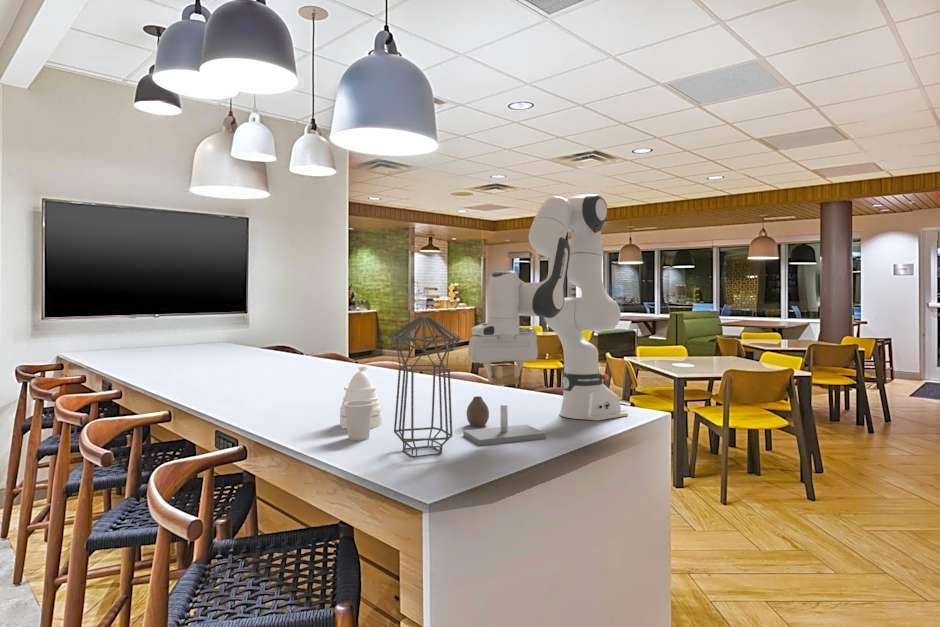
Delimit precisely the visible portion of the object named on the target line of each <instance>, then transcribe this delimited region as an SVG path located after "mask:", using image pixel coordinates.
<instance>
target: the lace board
mask: <svg viewBox="0 0 940 627" xmlns="http://www.w3.org/2000/svg"><path fill="white" fill-rule="evenodd" d="M508 408H509V406H508V404H500V410H499V411H500V426H495V427H494V426H493V427H487V428H477V429H464V430H463V433H462V434H463V436H464V437H465V438H467V439H468V440H470V441H471V442H473V443H475V444H476V445H478V446H486V445H498V444H506V443H515V442H525V441H534V440H544V439H546V438H547V434H546V433H547V432H545V431H543V430H541V429H540V430H539V429H538V428H535V427H532V426H530V425H528V424H526V423H525V424H517V425H516V424H514V425H509V424H508V420H509V419H508V414H509V413H508V411H509V410H508Z"/></svg>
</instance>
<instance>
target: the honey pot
mask: <svg viewBox="0 0 940 627" xmlns="http://www.w3.org/2000/svg"><path fill="white" fill-rule="evenodd" d="M367 369H368V366H366V365H359V366H358V371H357V372H356V373H355V374H353V376H352V378H351V380H350V382H349V383H348V385H346V386H344V387H343V390H344V391H345V393H344V396H343V398H342V399H343V400H342V402H341V406H340V409H339V426H341V427H340V428H342V427H344V428H343V429H345V428H347V422H346V414H345V407H344V405H343V404H344V403H345V402H348V401H355V400H367V401H372V402H373V403H374V404H373V408H372V417H371V426H370V430H371V429H375V428H379V427H381V426H382V425H383V413H382V412H383V411H382V410H383V409H382V406H381V404H380V403H381V401H380V400H379V396H378V395H377V391H376V390H377V388H378V387H377V386H376V385H374V384H373V382H372V380H371V379H370V377H369V375H368V374H367V373H366V371H367Z"/></svg>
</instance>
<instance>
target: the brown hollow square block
mask: <svg viewBox="0 0 940 627" xmlns="http://www.w3.org/2000/svg"><path fill="white" fill-rule="evenodd" d="M517 365H518V364H513V363H494V364H493V363H491V366H489V367H490V369H491V371H493V372H495V374H494V376H495V377H494V378H488V383H490V384H493V385H496V386H504V385H505V386H507V385H519V384H520V377H519V366H517Z"/></svg>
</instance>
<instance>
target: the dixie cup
mask: <svg viewBox="0 0 940 627" xmlns="http://www.w3.org/2000/svg"><path fill="white" fill-rule="evenodd" d="M373 404H374V403H373V402H372V401H367V400H355V401H348V402H345V403H344V404H343V405H344V407H345V414H346V422H347V429H346V430H347V436H348V440H350V439H351V440H350V441H356V440H358V441H365V440H369V439H370V434H371V433H370V432H371V429H370V426H371V417H372V408H373Z"/></svg>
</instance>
